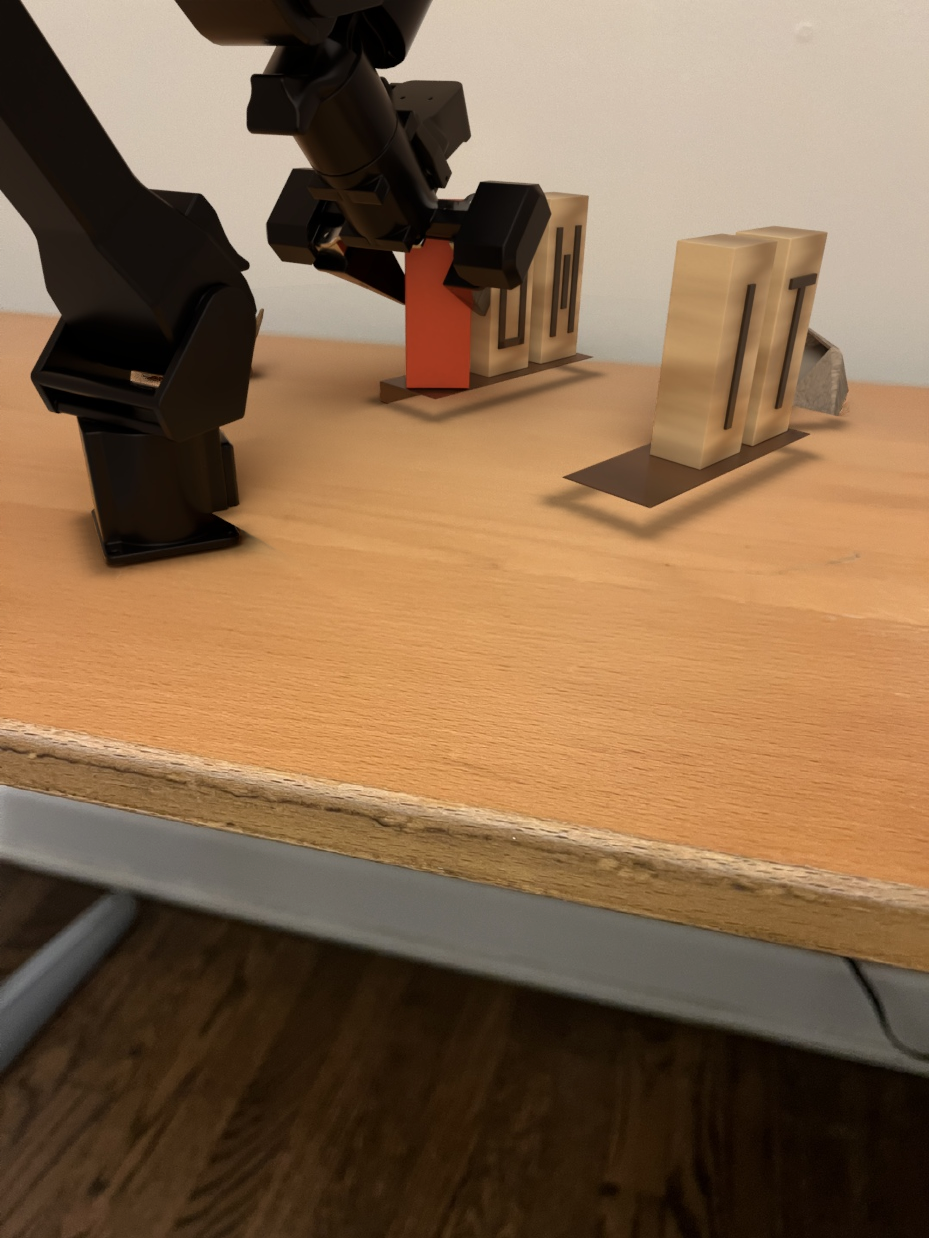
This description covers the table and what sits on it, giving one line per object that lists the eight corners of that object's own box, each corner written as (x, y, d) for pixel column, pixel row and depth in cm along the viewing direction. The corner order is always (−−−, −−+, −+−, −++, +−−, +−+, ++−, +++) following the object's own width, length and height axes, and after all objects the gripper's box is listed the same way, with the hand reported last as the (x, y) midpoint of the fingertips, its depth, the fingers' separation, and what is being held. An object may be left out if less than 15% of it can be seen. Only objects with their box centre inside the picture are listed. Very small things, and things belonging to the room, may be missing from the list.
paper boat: (868, 427, 61) (740, 383, 61) (818, 479, 67) (701, 440, 67) (878, 301, 67) (760, 260, 66) (831, 359, 72) (722, 322, 72)
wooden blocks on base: (435, 419, 65) (436, 211, 58) (379, 400, 68) (374, 203, 61) (592, 374, 76) (608, 196, 69) (537, 360, 79) (547, 190, 73)
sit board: (646, 534, 48) (682, 264, 42) (559, 501, 52) (579, 248, 45) (806, 455, 60) (855, 233, 53) (725, 433, 63) (761, 222, 56)
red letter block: (470, 388, 66) (475, 206, 60) (406, 388, 65) (404, 204, 59) (466, 372, 69) (470, 199, 63) (405, 371, 69) (403, 198, 63)
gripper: (549, 21, 50) (605, 223, 63) (279, 25, 57) (381, 203, 71) (475, 191, 47) (549, 360, 61) (205, 170, 55) (325, 325, 69)
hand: (446, 305), depth 66 cm, fingers closed on red letter block, 6 cm apart
